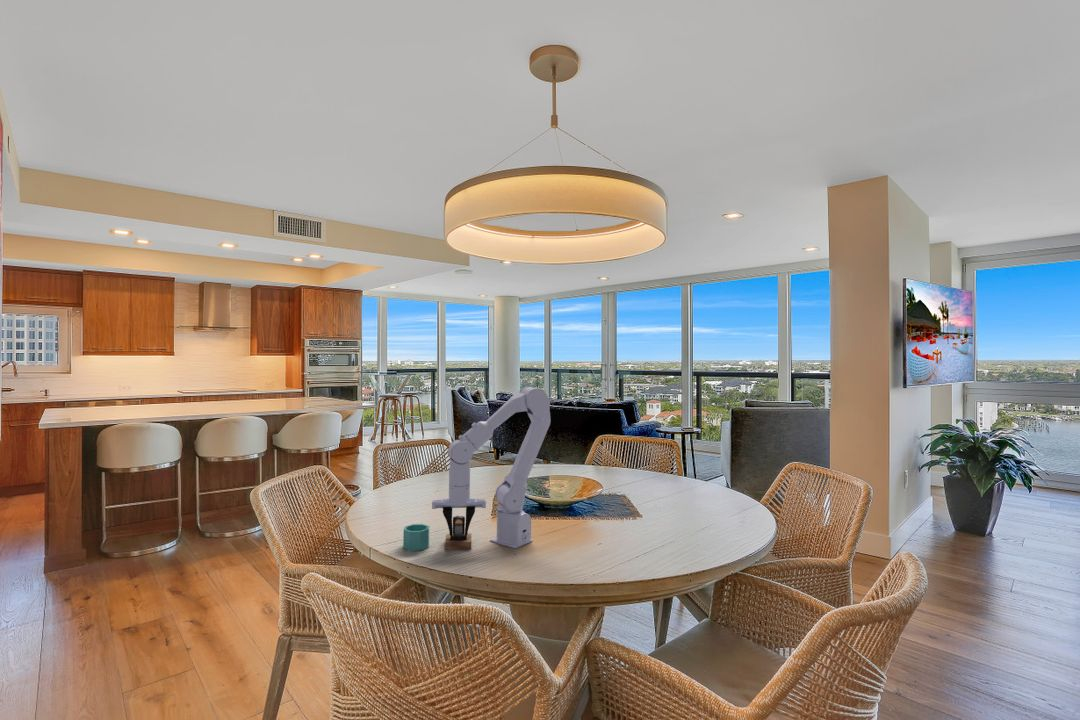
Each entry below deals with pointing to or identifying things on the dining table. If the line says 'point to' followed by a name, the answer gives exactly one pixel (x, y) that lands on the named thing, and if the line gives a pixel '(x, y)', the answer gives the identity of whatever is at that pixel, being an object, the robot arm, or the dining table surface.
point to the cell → (458, 528)
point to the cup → (416, 537)
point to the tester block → (457, 543)
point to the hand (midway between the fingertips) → (458, 534)
